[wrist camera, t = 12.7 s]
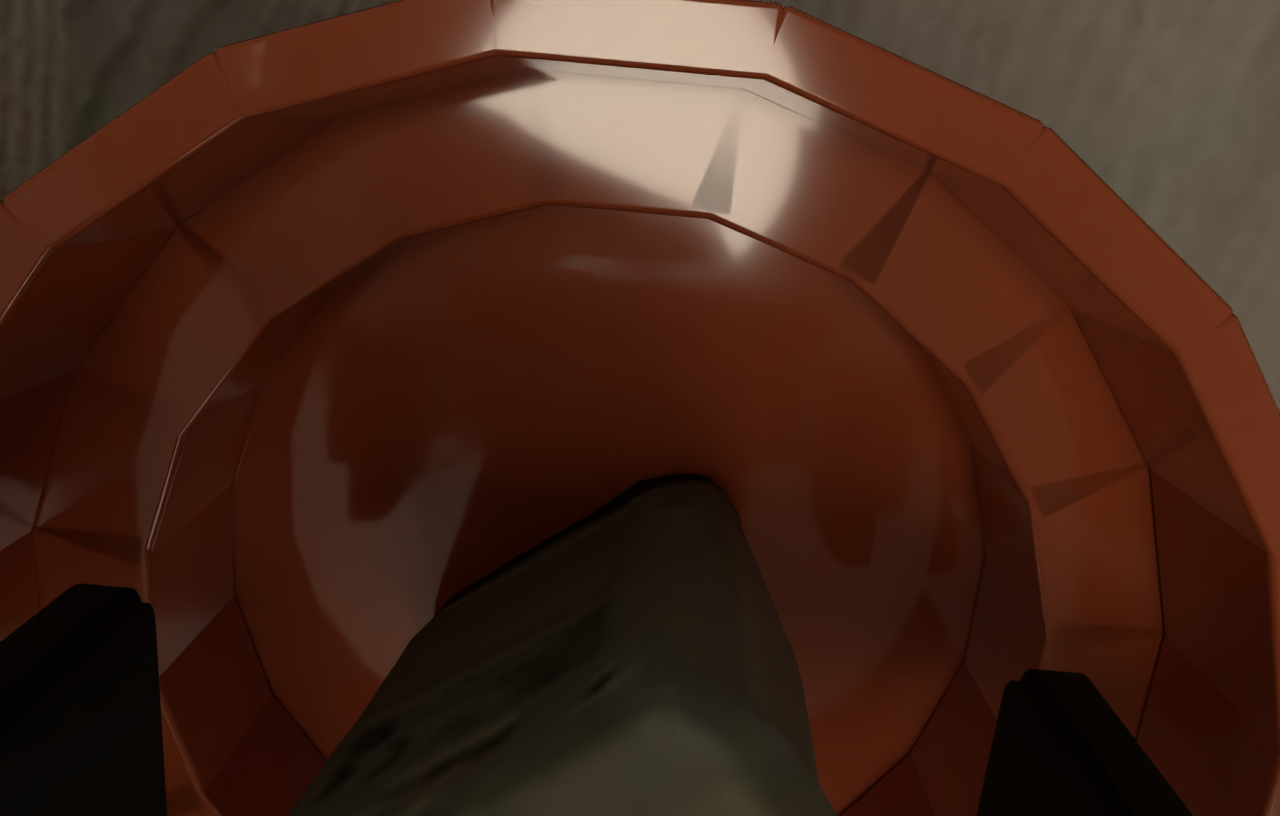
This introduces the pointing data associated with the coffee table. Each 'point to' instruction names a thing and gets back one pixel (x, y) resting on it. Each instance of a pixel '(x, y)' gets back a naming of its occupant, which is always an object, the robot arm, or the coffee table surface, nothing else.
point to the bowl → (634, 384)
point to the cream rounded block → (594, 682)
